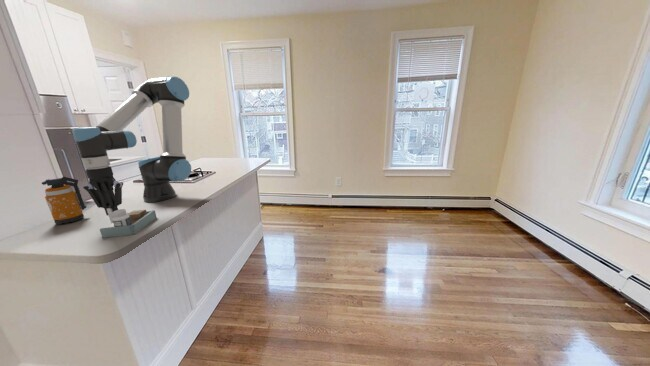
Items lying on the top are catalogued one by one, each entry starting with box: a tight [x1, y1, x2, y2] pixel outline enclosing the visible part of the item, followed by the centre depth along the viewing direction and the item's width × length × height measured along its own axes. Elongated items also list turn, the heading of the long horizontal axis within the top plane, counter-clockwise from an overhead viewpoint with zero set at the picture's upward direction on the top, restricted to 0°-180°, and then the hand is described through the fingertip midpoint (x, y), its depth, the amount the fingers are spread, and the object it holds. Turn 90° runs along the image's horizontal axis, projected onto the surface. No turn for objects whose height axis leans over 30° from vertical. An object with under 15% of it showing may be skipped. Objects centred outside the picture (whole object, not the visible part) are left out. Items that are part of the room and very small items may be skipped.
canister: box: [41, 176, 88, 225], centre depth 102 cm, size 9×11×20 cm
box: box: [99, 209, 157, 239], centre depth 95 cm, size 16×11×4 cm
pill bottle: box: [112, 208, 132, 227], centre depth 90 cm, size 5×5×9 cm
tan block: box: [127, 209, 147, 224], centre depth 99 cm, size 5×5×5 cm
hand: (115, 221), depth 98 cm, fingers closed
